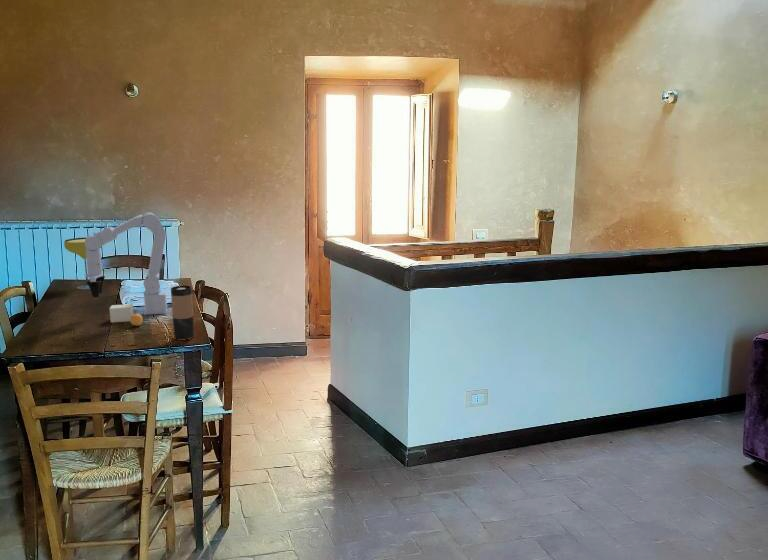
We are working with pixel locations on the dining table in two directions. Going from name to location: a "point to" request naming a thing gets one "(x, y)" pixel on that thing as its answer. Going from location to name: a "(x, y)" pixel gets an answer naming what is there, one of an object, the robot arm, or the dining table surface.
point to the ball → (136, 319)
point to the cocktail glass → (78, 253)
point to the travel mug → (182, 312)
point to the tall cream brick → (121, 312)
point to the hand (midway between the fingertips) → (97, 295)
